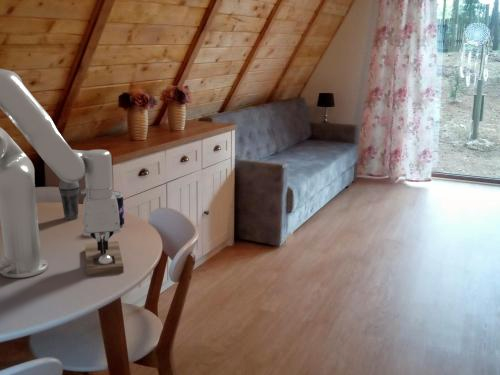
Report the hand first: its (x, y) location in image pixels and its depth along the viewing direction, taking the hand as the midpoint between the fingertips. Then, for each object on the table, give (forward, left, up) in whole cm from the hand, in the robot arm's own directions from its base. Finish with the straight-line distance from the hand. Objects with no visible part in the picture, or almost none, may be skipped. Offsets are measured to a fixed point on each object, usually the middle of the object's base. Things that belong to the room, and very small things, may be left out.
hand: (103, 252), depth 164 cm
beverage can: (+27, +16, -3) cm, 31 cm away
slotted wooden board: (0, 0, -3) cm, 3 cm away
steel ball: (-4, -4, -1) cm, 6 cm away
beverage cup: (+27, +36, -3) cm, 45 cm away
